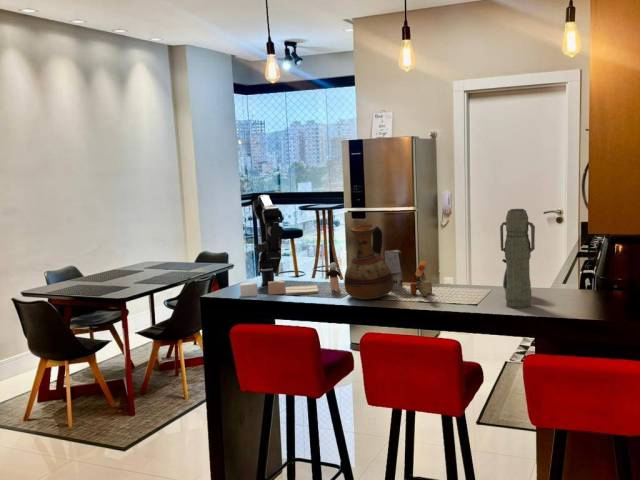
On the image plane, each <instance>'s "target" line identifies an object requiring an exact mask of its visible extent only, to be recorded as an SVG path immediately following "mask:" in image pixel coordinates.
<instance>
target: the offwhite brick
mask: <svg viewBox="0 0 640 480" xmlns="http://www.w3.org/2000/svg"><path fill="white" fill-rule="evenodd" d="M239 288H240V297H253V296H255V297H256V296H258V282H257V281H255V282H244V283H243V282H242V283H240V285H239Z"/></svg>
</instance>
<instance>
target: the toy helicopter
mask: <svg viewBox="0 0 640 480" xmlns="http://www.w3.org/2000/svg"><path fill="white" fill-rule="evenodd" d="M427 264H428V262H427V261H426V260H421V261H420V262H419V264H418V266H417V267H416V271H415V274H414V275H415V276H416V281H415V282H410V283H409V284H410V285H409V286H410V287H409V289H410V293H411V296H413V295H417V294H418V293H417V291H418V292H419V294H420V295H421V297H422V298H424V297H427V296H428V294H432V292H433V286H432V285H433V284H432V282H431V281H430V280H427V278H426V274H425V273H426V272H427V268H426V266H427Z"/></svg>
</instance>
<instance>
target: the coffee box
mask: <svg viewBox="0 0 640 480" xmlns="http://www.w3.org/2000/svg"><path fill="white" fill-rule="evenodd" d="M402 257H403V256H402V251H401V250H400V249H390V250H385V251H384V258H385V259H384V261H385V262H386V264H387V265H388V267H389V269H390V271H391V273H392V276H393V289H392V291H399V290H402V291H403V289H404V287H403V285H404V284H403V262H402V261H403V259H402Z"/></svg>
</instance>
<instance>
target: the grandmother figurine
mask: <svg viewBox="0 0 640 480" xmlns="http://www.w3.org/2000/svg"><path fill="white" fill-rule="evenodd" d="M328 268H329V269H330V270H329V271H328V272H326V274H325V277H324V279H325V280H328V278H329V283H330V284H329V286H330V293H334V292H336V293H338V292H339V293H340V292H341V291H342V290H341V289H340V282H339V279H340V280H343V277H342V275H341V273H340V271H338V270H337V262H334V261H333V262H330V264H329V267H328Z"/></svg>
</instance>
